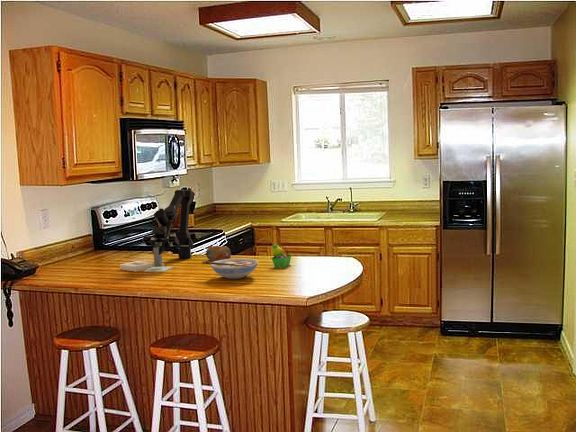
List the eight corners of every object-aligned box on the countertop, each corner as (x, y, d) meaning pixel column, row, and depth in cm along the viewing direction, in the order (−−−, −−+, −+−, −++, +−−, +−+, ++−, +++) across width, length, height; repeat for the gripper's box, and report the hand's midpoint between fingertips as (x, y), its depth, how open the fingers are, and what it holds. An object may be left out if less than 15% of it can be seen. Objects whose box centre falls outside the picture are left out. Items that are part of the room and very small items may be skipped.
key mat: (153, 267, 332) (153, 266, 332) (172, 267, 329) (172, 266, 329) (144, 271, 322) (143, 270, 321) (163, 272, 319) (163, 270, 319)
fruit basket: (285, 268, 316) (284, 246, 315) (269, 267, 319) (268, 246, 318) (292, 264, 327) (291, 242, 326) (276, 263, 330) (275, 242, 329)
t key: (154, 265, 327) (153, 246, 326) (165, 265, 326) (163, 246, 325) (151, 266, 325) (150, 247, 323) (162, 266, 323) (161, 247, 322)
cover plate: (138, 265, 340) (138, 260, 340) (154, 267, 332) (153, 262, 332) (120, 269, 331) (120, 264, 331) (135, 271, 323) (135, 266, 323)
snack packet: (206, 260, 346) (205, 245, 345) (209, 259, 349) (208, 244, 348) (229, 262, 339) (228, 247, 338) (232, 261, 342) (231, 246, 341)
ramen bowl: (270, 275, 301) (269, 258, 301) (243, 285, 282) (242, 267, 281) (228, 271, 314) (227, 255, 313) (199, 280, 295) (198, 263, 294)
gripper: (142, 220, 329) (133, 245, 319) (175, 220, 324) (167, 245, 315) (150, 233, 337) (142, 257, 328) (182, 233, 332) (175, 257, 323)
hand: (156, 254), depth 323 cm, fingers closed on t key, 3 cm apart
